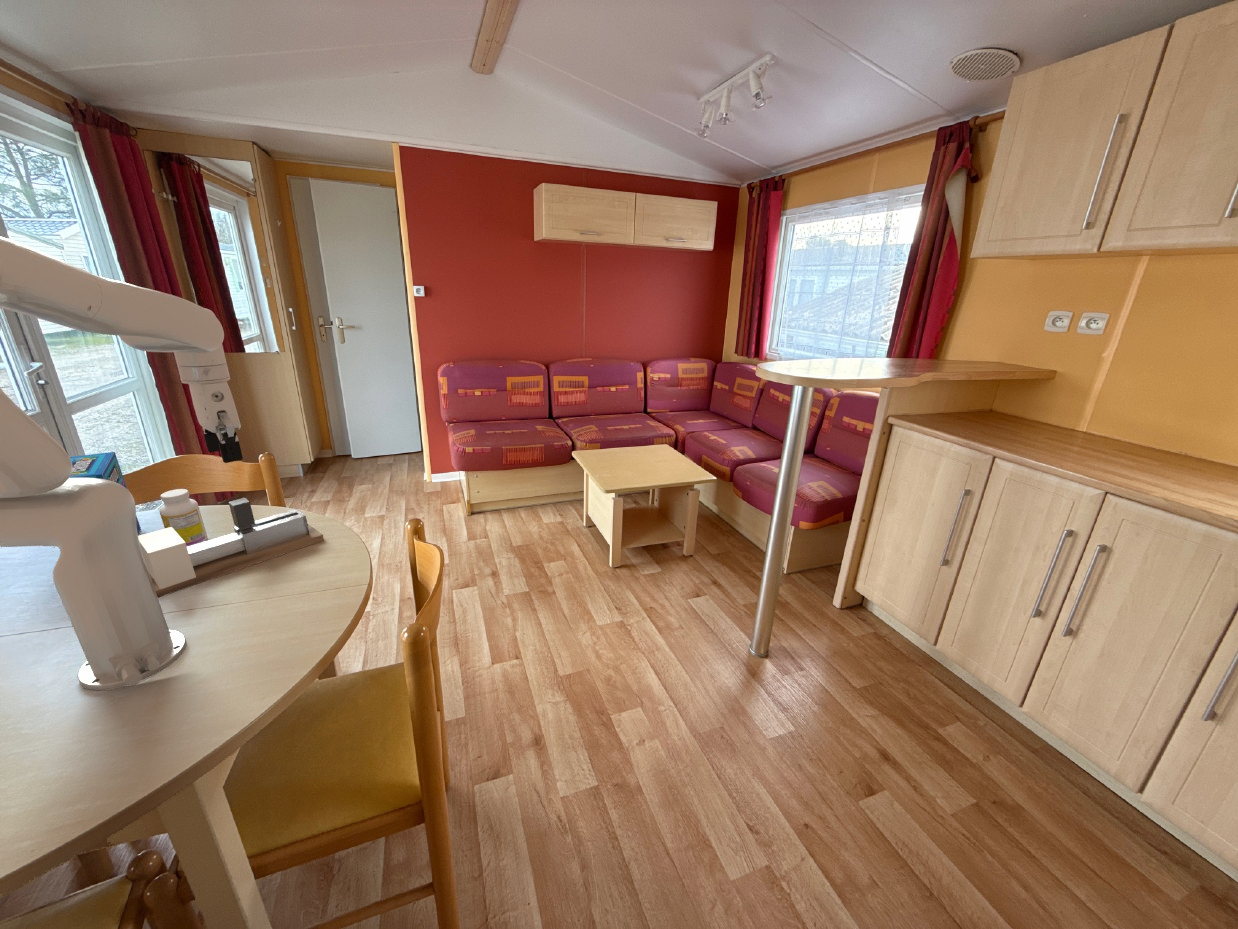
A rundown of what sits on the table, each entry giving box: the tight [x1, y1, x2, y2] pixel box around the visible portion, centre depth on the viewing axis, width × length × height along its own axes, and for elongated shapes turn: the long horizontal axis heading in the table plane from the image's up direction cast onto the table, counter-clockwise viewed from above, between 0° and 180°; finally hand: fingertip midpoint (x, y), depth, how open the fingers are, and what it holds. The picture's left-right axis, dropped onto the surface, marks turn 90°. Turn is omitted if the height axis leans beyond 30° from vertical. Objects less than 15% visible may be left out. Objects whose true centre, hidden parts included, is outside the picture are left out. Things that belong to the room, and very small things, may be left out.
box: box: [69, 451, 142, 536], centre depth 107 cm, size 17×9×20 cm, turn 37°
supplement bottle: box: [158, 488, 208, 547], centre depth 112 cm, size 7×7×13 cm
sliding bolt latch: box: [187, 497, 256, 566], centre depth 104 cm, size 4×17×10 cm, turn 142°
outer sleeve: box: [233, 508, 310, 555], centre depth 112 cm, size 6×12×5 cm, turn 142°
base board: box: [149, 523, 325, 598], centre depth 108 cm, size 10×30×2 cm, turn 142°
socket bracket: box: [138, 527, 196, 589], centre depth 98 cm, size 10×6×8 cm, turn 52°
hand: (225, 455), depth 102 cm, fingers open, 9 cm apart
